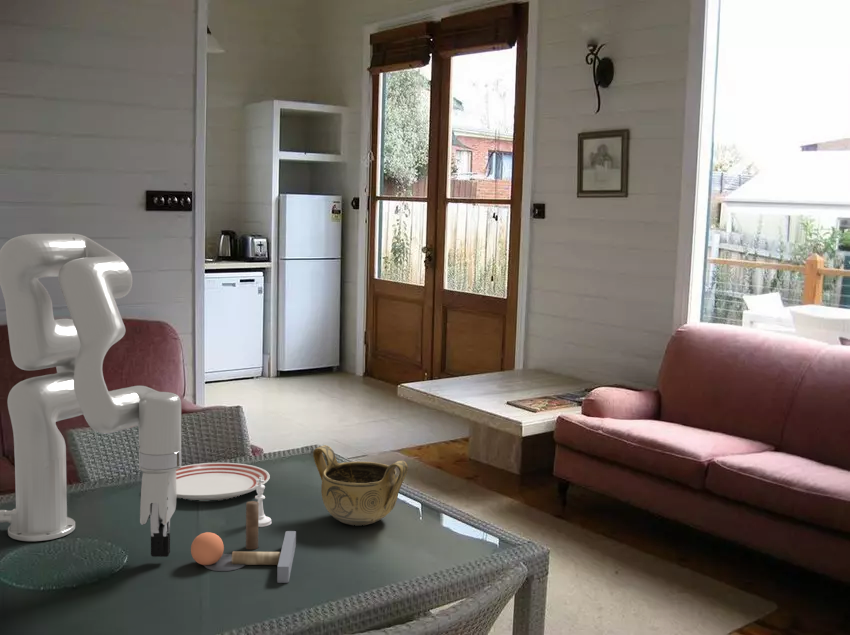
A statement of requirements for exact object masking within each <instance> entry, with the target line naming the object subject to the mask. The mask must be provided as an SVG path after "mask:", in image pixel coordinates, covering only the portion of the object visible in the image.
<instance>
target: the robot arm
mask: <svg viewBox="0 0 850 635" xmlns="http://www.w3.org/2000/svg"><path fill="white" fill-rule="evenodd" d="M54 277H55V278H56V277H58V279H57V280H58V285H59V288H60V290H61V292H62V295H63V299H64V301H65V304H66V307H67V310H68V312H69V314H70V317H71V318H60V319H59V318H58V319H55V316H54V311H53V301H52V298H51V296H50V293H49V292H48V290H47V288H46V287H45V286H44V284H43V283H42V282H41V281H40V280H39V279H43V278H54ZM133 280H134V279H133V274H132V271H131V269H130V267H129V266H128V264H127V263H126V262H125V260H123V259H122V258H121V257H120V256H119V255H117V254H116V253H115V252H113V251H111V250H109V249H108V248H106V247H104V246H102V245H101V244H100V243H98V242H96V241H95V240H93V239H91V238H89V236H88V237H87V236H85V235H83V234H78V233H69V232H68V233H30V234H23V235H19V236H15V237H13V238H10V239H9V240H7V241H6V242H5V243H4V244H3V245H2V247H1V248H0V289H1V292H2V296H3V299H4V304H5V315H6V323H7V324H6V325H7V332H8V340H9V341H8V342H9V350H10V355H11V359H12V361H13V364H14V365H15V367H17V368H19V369H20V370H24V371H38V370H44V369H49V368H50V369H51V368H56V373H51V374H45V375H39V376H33V377H29V378H26V379H24V380H21V381H19V382H18V383H16V384H15V385H14V386H12V388H11V389H10V390H9V393H8V396H7V409H8V414H9V418H10V422H11V427H12V433H13V434H12V435H13V446H14V449H13V452H14V478H15V479H14V481H15V482H14V483H15V508H13V509H12V510H7V509H0V523H5V524H6V523H9V524H10V525H9V526H8V527H7V534H8V537H10V538H11V539H13V540H16V541H21V542H42V541H50V540H55V539H58V538H62V537H65V536H67V535H69V534H71V533H72V532H74V530H75V529H76V521H75V520H74V519H73V518H71V517H69V516H68V505H67V504H68V503H67V502H68V499H67V498H68V497H67V496H68V495H67V446H66V445H67V444H66V440H65V438H64V436H63V435H62V433H61V431H60V430H59V429H58V425H57V423H56V422H60V421H63V420H67V419H72V418H76V417H79V416H82V415H83V417H84V419H85V421H86V423H87V424H88V426H89V427H90V428H91V429H92V430H93V431H95V433H99V434H102V435H105V434H106V435H107V434H112V433H117V432H121V431H123V430H127V429H128V430H129V429H131V428H137V427H138V470H139V471H142V476H141V477H142V478H141V487H140V488H141V489H140V509H139V523H140V525H146V524H147V523H148V521H149V520H150V521H149V522H150V556H151V557H152V558H153V557H154V558H156V557H159V558H165V557H166V558H167V557H169V554H170V553H171V533H170V531H171V518H172V517H173V515H174V513H175V511H176V508H177V499H178V498H177V483H176V470H177V469H180V468H181V466H182V400H181V398H180V396H179V395H178V394H176V393H173V392H170V391H169V392H168V391H158V390H156V389H154V388H152V387H148V386H146V385H134V386H133V385H132V386H129V387H122V388H119V389H113V390H108V386H107V384H106V381H105V379H104V373H103V372H104V371H103V364H104V360H105V357H106V355H107V353H108V351H109V350H110V348H111V347H112V346H113V345H115V344H117V343H118V342H119V341H120V340H121V339H123V338H124V336H125V334H126V326H125V324H124V321H123V318H122V316H121V313H120V310H119V308H118V304H117V302H116V299H122V298H124V297H125V296H127V295H128V294H129V293H130V292H131V290H132V286H133Z"/></svg>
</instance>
